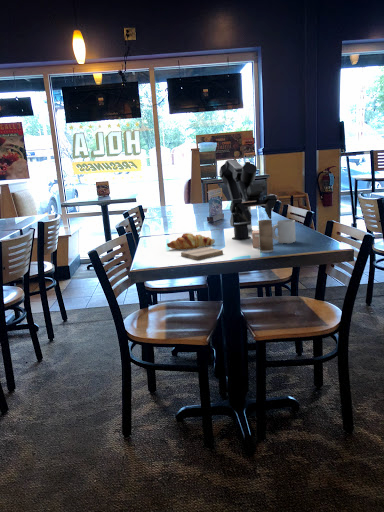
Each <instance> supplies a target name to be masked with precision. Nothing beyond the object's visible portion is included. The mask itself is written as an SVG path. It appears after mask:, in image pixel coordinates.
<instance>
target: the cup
mask: <svg viewBox="0 0 384 512" xmlns="http://www.w3.org/2000/svg"><path fill="white" fill-rule="evenodd" d="M276 229H277V235H276ZM272 234H273V240H275V241H277V242H278V244H283V243H287V244H293V242H294V243H295V242H296V236H297V235H296V220H295V219H281V220H277V221H276V224H274V225H272Z"/></svg>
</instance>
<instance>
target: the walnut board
mask: <svg viewBox="0 0 384 512" xmlns="http://www.w3.org/2000/svg"><path fill="white" fill-rule="evenodd" d="M223 254H224V251H223V249H217V248H213V247H209V246H208V247H207V246H205V247H200V248H196V249H188V250H186V251H181V252H180V255H181V257H184V258H187V257H188V258H187V259H191V260H195V261H201V260H205V259H208V258H212V257H217V256H220V255H223Z"/></svg>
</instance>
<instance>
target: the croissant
mask: <svg viewBox="0 0 384 512" xmlns="http://www.w3.org/2000/svg"><path fill="white" fill-rule="evenodd" d="M215 242H216V240H215V239H212V238H211V237H209V236H208V237H207V236H203V235H202V234H196V235H194V234H193V233H191V232H189V233H188V232H186V233H183V234H182V235H181V236H180V237H177V238H176V239H175V240H172V241H170V242H167V243H166V246H167V248H171V249H175V250H178V251H181V250H183V249H186V250H194V249H198V248H203V247H207V246H211V245H214V244H215Z"/></svg>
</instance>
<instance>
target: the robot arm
mask: <svg viewBox="0 0 384 512" xmlns="http://www.w3.org/2000/svg"><path fill="white" fill-rule="evenodd" d="M257 171H258V167H257V166H256V165H255V164H254V163H251V161H245V162H244V164H243V165H241V164H240V162H238V160H237V159H235V158H234V159H227V160H225V162H224V164H222V165H221V166H220V168H219V178H221V181H222V183H223V184H225V185H226V186H227V190H228V194H229V197H230V202H231V203H230V206H229V210H230V213H231V214H230V219H229V223H230V224H229V225H230V227H233V233H234V236H233V237H231V239H232V240H238V241H243V240H247V239H251V238H252V236H250V235H249V231H248V225H251V222H252V216H253V215H252V212H251V213H250V212H249V209H248V207H261V206H263V208H264V211H265V214H266V215H267V217H268V220H272V210H273V209H274V208H275V206H276V203H277V201H278V197H277V195H275V194H269V195H265V198H264V199H260V198H262V195H261V194H262V193H263V192H266V190H267V187H266V186H267V185H266V184H265V182H260V183H257V184H256V183H255V184H254V183H253V182H255V179H256V175H257ZM237 182H238V183H237ZM239 192H241V193H242V195H243V197H242V199H243V200H244V202H242V199H241V196H240V193H239ZM243 222H245V223H243Z"/></svg>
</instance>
